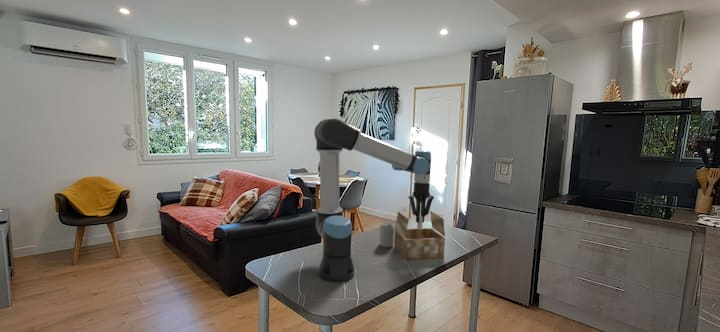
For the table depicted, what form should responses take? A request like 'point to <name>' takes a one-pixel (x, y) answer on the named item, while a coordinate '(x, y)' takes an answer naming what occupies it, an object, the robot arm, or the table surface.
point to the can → (387, 235)
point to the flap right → (437, 223)
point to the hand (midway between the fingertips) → (419, 228)
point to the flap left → (401, 224)
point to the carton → (420, 244)
